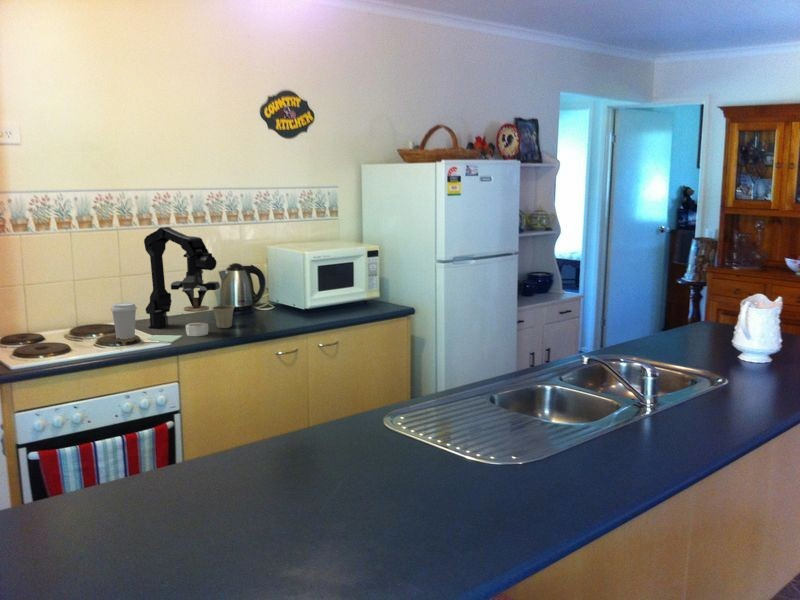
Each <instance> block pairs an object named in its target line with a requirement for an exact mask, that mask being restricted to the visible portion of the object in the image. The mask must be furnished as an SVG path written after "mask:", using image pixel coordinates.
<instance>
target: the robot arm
mask: <svg viewBox="0 0 800 600" xmlns="http://www.w3.org/2000/svg"><path fill="white" fill-rule="evenodd" d="M169 241H171V242H172V243H175V244H177V245H179V246H180V248H181V249H182V250H183V251H185V253H184V255H183V258H186V269H187V271H186V273H185V277H183V280H177V281H173V282H172V283H171V284H170V290H173V291H174V290H175V291H176V290H180V288H182V290H181V291H182V292H183V293H185V295H186V297H188V300H189V301H190V306H192V307H193V298H195V289H199V290H197V293H198V305H199V307H200V306H202V303H203V301H204V298H205V296H206V293H207V292H208V291H216V290H219V289H220V288H221V285H220V282H219V281H208V282H206V283H204V279H203V273H204V271H214V269H216V267H217V262H218V261H217V260H216V258H215V257H214V256H213V253H212V252H209V249H208V248H207V246H206V244H205V242H204V241H203V238H201V237H198V236H189V235H187V234H184V233H182V232H179V231H178V230H174V229H173V228H171V227H170V226H161V227H159V228H158V229H157V230H155V231H153V232H151V233H149V234H148V235H146V236H145V238H144V239H143V245H144V249H145V251H146V253H147V254H148V255H149V258H150V259H149V261H150V271H151V280H152V292H151V293H150V295H149V303H148V304H147V306H146V308H145V312H146V314H147V315H149V326H148V328H149V329H164V328H166V327H168V326H169V316H168V315H167V313H170V311H171V307H172V302H173V301H172V294H171V292H168V290H167V289H166V282H165V271H164V263H163V262H164V261H163V255H164V253H165V251H166V247H167V246H166V244H168V242H169Z"/></svg>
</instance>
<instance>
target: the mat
mask: <svg viewBox="0 0 800 600" xmlns="http://www.w3.org/2000/svg"><path fill="white" fill-rule="evenodd" d="M149 338H150V339H149ZM181 338H183V335H172V334H171V335H168V334H167V335H161V334H160V335H159V334H157V335H156V334H153V335H151V336H148V337H147V338H146V339H148V340H151V341H159V342H168V343H167V344H173V343H174V342H176V341H178V340H180V339H181Z"/></svg>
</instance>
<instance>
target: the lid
mask: <svg viewBox="0 0 800 600" xmlns="http://www.w3.org/2000/svg"><path fill="white" fill-rule="evenodd" d="M198 297H199V296H198ZM198 297H194V298H193V307H192V305H188V306H185V307H183V311H184V312H191V313H193V312H195V313H196V312H204V311H208V310H209V311H210V306H207V305H201V306H200V307H199V305H198Z"/></svg>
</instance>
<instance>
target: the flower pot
mask: <svg viewBox="0 0 800 600" xmlns="http://www.w3.org/2000/svg"><path fill="white" fill-rule="evenodd" d="M235 308H236V307H235V306H234V305H226V304H225V305H216V306H213V307H211V309H212V310H213V313H214V318H215V323H216V327H217V328H218V329H220V328H221V329H229V328H231V327H232V326H233V325H232V324H233V317H234V316H233V313H234V310H235Z"/></svg>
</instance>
